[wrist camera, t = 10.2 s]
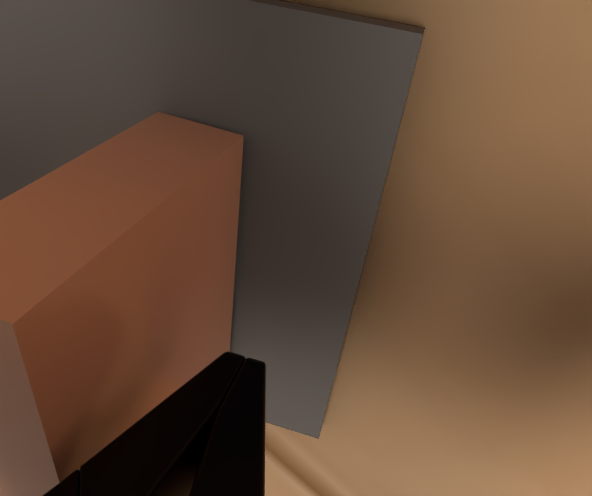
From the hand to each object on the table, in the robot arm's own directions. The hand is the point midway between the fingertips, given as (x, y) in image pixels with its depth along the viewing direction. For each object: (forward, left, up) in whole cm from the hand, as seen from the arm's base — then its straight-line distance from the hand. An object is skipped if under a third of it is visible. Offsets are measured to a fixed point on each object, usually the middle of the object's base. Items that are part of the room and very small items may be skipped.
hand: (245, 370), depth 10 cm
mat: (0, +5, -4) cm, 6 cm away
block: (0, +2, -3) cm, 4 cm away
